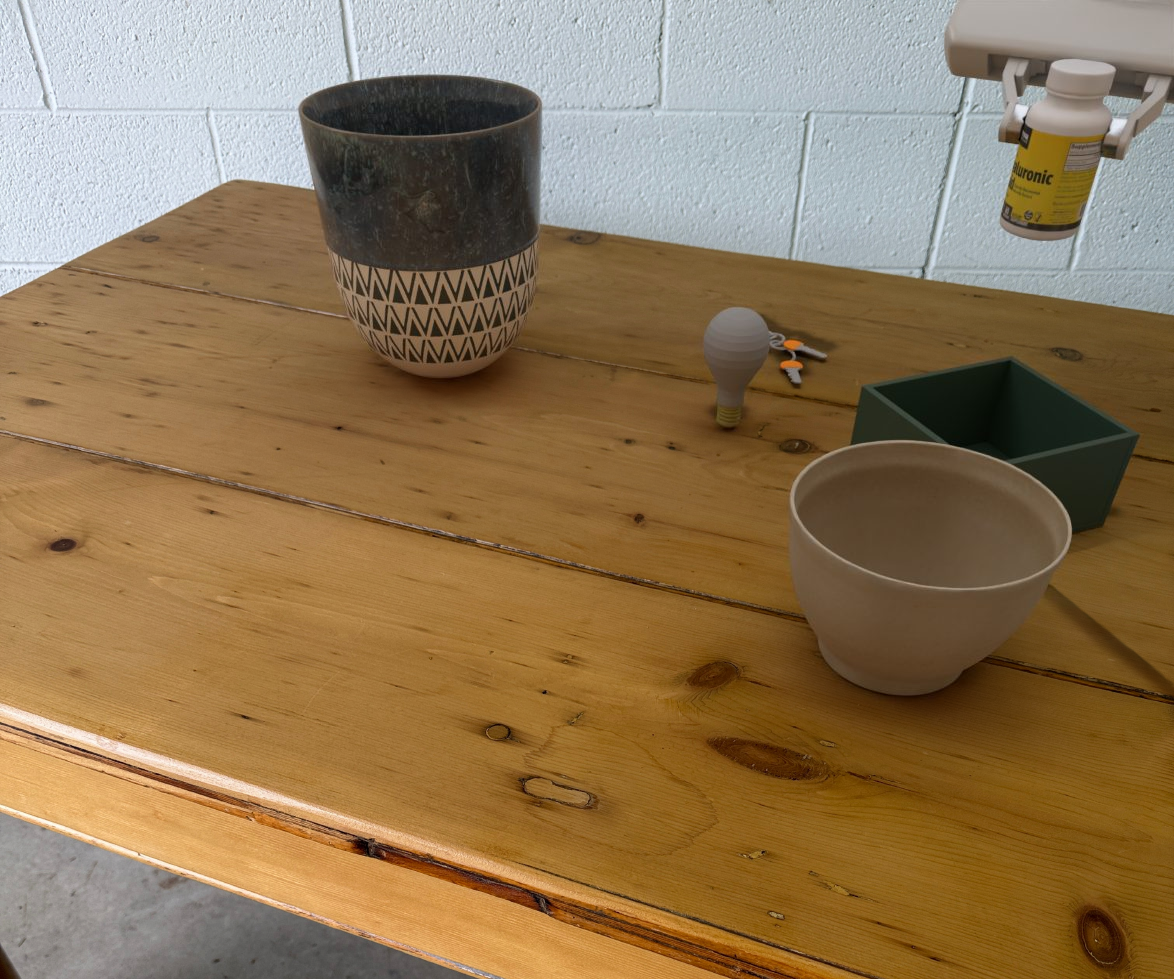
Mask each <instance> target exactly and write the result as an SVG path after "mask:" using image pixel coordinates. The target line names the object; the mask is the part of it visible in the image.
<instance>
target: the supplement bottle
mask: <svg viewBox="0 0 1174 979" xmlns="http://www.w3.org/2000/svg"><path fill="white" fill-rule="evenodd" d="M1115 71H1116V69H1115V67H1113V66H1112V65H1110V64H1107V63H1103V62H1097V61H1089V60H1081V59H1063V60H1058V61H1055V62H1053V63H1052V64H1051V67H1050V71H1049V74H1048V78H1047V81H1046V87H1044V89H1045V91H1046V92H1047V93H1046V97H1045V98H1043V99H1040V100H1038V101H1036V102H1035V103H1034V104H1033V105H1032V106H1030V110H1029V111H1028V114H1027V117H1026V120H1025V123H1024V126H1023V131H1022V135H1021V138H1020V142H1019V145H1017V149H1016V150H1017V151H1016V154H1015V159H1014V162H1013V165H1012V170H1011V173H1010V177H1009V181H1008V185H1007V188H1006V193H1005V197H1004V199H1003V204H1002V206H1001V207H1002V208H1001V212H1000V217H999V224H1000V227H1001V228H1002V229H1003V230H1004V231H1006V232H1007V233H1009V234H1011V235H1013V236H1015V237H1019V238H1022V239H1026V240H1031V241H1039V242H1053V241H1054V242H1055V241H1062V240H1066V239H1069V238H1071V237H1073V236H1075V235H1076V233H1077V232H1078V231H1079V228H1080V225H1081V224H1082V220H1083V216H1084V213H1085V209H1086V206H1087V204H1088V201H1089V197H1090V194H1091V190H1092V188H1093V185H1094V181H1095V177H1096V175H1097V172H1098V168H1099V165H1100V163H1101V159H1102V157H1101V156H1100V155H1101V152H1102V150H1101V149H1102V144H1103V141H1104V138H1105V136H1106V133H1108V131H1109V126H1110V123H1111V121H1112V119H1113V114H1112V112H1111V110H1110V108H1109V107H1108V106H1107V105H1105V104H1104V103H1103V102H1104V99H1105V97H1107V96H1108V94H1109V90H1110V89H1111V86H1112V82H1113V79H1114V75H1115Z"/></svg>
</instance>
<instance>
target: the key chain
mask: <svg viewBox="0 0 1174 979" xmlns="http://www.w3.org/2000/svg"><path fill="white" fill-rule="evenodd" d="M769 335H770V348H771V349H773V350H775V351H781V352H784V351H787V352H788V353H790V354H791V355H792V358H791V359H790V360H784V361H782V362H781V363H780V365H779V366H780V367H779V368H780V369H781V370H783V371H786V373H787V376H788V377H789V379H791V380H790V382H791V383H793V384H796V385H801V384H803V380H802V379H801V376H800V373H799V371H801V370H803V364H802V363H801V362H799V361H796V358H797V355H796V353H795V352H802V353H806V354H808V355H811V356H814V357H817V358H820V359H822V360H825V359H827V358H828V354H827V353H822V352H820V351H819V350H817V349H816V348H815V349H814V348H810V347H808V346H807V345H806V346H805V343H803V342H801V341H799V340H793V339H789V340H786V337H785V335H783V334H782V333H779V332H772V331H771V330H769ZM778 338H780V339H781V340H778ZM781 346H783V347H781Z"/></svg>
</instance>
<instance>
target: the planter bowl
mask: <svg viewBox="0 0 1174 979" xmlns="http://www.w3.org/2000/svg"><path fill="white" fill-rule="evenodd" d="M788 514H789V530H788V531H789V532H788V558H789V570H790V575H791V581H792V585H793V588H794V592H795V596H796V598H797V601H798V603H799V606H800V609H801V611H802V613H803V615H804V617H805V619H806V621H807V623H808V625H809V626H810V628H811V629H812V631H813V632H814V634H815V635H816V637H817V644H818V649H819V652H820V653H821V656H822V658H823V659H824V661H825V662H826V663H827V665H828V666H829V667H830V668H831V669H832V670H833V671H834V672H836V673H837V674H838V675H839V676H841V677H842V678H843V679H846V680H847V681H849V682H851V683H852V684H854V685H856V686H859V687H861V688H864V689H867V690H870V691H873V692H878V693H881V694H886V695H892V696H921V695H928V694H930V693H934V692H937V691H940V690H942V689H944V688H946V687H949V686H950V685H951V684H952V683H954V682H955V681H956V680H957V679H958V678H959V677H960V676H961V674H962V673H963V671H965V670H967V669H968V668H971V667H972V666H974V665H975V664H978V663H979V662H981V661H982V660H984V659H985V658H987V657H988V656H990V655H991V654H992V653H994V652H995V651H996V650H997V649H999V648H1000V647H1001V646H1002V645H1003V644H1004V643H1005V642H1007V641H1008V640H1009V639H1010V637H1012V636H1013V635H1014V633H1016V631H1018V629H1019V628H1020V627H1021V626H1022V625H1023V624H1024V622H1026V620H1027V619H1028V618H1029V617H1030V615H1031V614H1032V612H1033V611H1034V610H1035V608H1036V607H1037V606H1038V603H1039V601H1040V600H1041V599H1042V597H1043V595H1044V593H1045V592H1046V590H1047V588H1048V586H1049V584H1050V582H1051V580H1052V578H1053V575H1054V574H1055V573H1056V571H1057V570H1058V569H1059V567H1060V566H1061V565H1062V563H1063V561H1064V560H1065V558H1066V555H1067V553H1068V551H1069V549H1070V547H1071V543H1072V537H1073V534H1072V526H1071V521H1070V518H1069V515H1068V513H1067V511H1066V509H1065V508H1064V506H1063V504H1062V503H1061V502H1060V501H1059V499H1058V498H1057V497H1056V496H1055V495H1054V494H1053V492H1051V491H1050V490H1049V489H1048V488H1047V487H1046V486H1044V485H1043V484H1042V483H1041V482H1040V481H1038V480H1037V479H1035V478H1034V477H1032V476H1031V475H1029V474H1028V473H1026V472H1024V471H1023V470H1021V469H1019V468H1017V467H1015V466H1013V465H1011V464H1009V463H1007V462H1004V461H1002V460H999V459H997V458H994V457H991V456H989V455H985V454H982V453H978V452H975V451H971V450H968V449H964V448H960V447H955V446H951V445H946V444H940V443H933V442H923V441H911V440H889V441H876V442H869V443H862V444H856V445H852V446H850V445H848V446H845V447H840V448H838V449H835V450H832V451H830V452H828V453H826V454H824V455H822V456H820V457H818V458H816V459H814V460H813V461H811V462H810V463H809V464H808V465H806V467H804V468H803V470H802V471H800V473H799V474H798V475H797V476H796V478H795V480H794V481H793V483H792V486H791V489H790V492H789V500H788Z"/></svg>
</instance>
